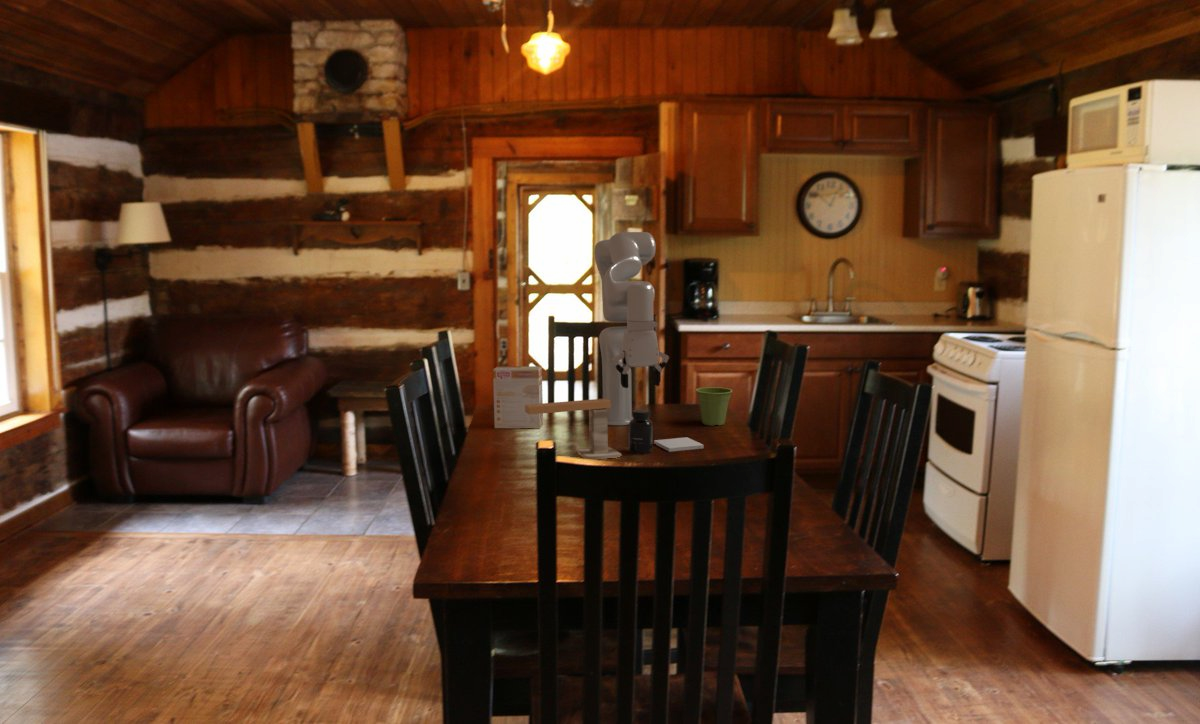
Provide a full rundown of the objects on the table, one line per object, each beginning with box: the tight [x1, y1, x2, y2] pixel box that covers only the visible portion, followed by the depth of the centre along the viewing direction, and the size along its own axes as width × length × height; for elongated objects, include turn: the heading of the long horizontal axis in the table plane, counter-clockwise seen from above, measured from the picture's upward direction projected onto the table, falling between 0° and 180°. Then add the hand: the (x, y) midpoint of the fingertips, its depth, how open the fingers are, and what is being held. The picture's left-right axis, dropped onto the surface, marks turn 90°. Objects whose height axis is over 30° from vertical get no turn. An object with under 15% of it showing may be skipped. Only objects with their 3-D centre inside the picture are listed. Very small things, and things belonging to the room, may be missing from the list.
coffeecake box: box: [492, 365, 544, 430], centre depth 321 cm, size 15×7×20 cm, turn 84°
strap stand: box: [575, 408, 623, 461], centre depth 281 cm, size 10×10×14 cm
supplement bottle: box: [628, 409, 654, 454], centre depth 286 cm, size 7×7×12 cm
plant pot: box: [695, 386, 733, 427], centre depth 323 cm, size 12×12×11 cm
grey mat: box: [653, 436, 704, 453], centre depth 293 cm, size 11×11×1 cm
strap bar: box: [525, 398, 611, 415], centre depth 277 cm, size 4×24×2 cm, turn 111°
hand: (640, 386), depth 283 cm, fingers open, 9 cm apart
